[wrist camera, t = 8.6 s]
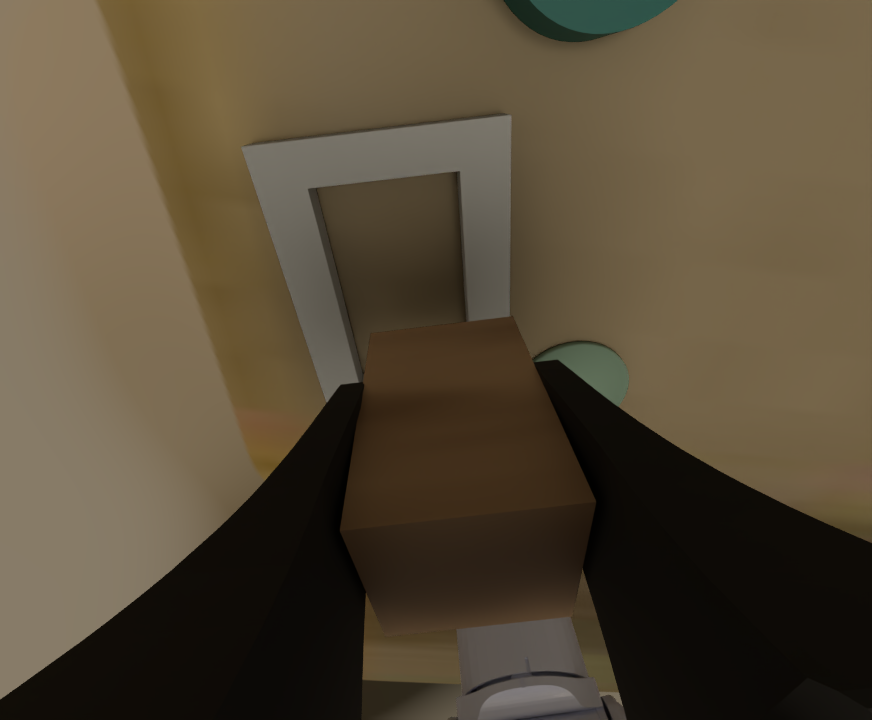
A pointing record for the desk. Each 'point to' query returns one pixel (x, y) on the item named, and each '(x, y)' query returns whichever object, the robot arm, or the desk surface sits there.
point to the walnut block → (462, 483)
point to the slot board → (371, 161)
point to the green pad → (593, 367)
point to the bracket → (584, 16)
